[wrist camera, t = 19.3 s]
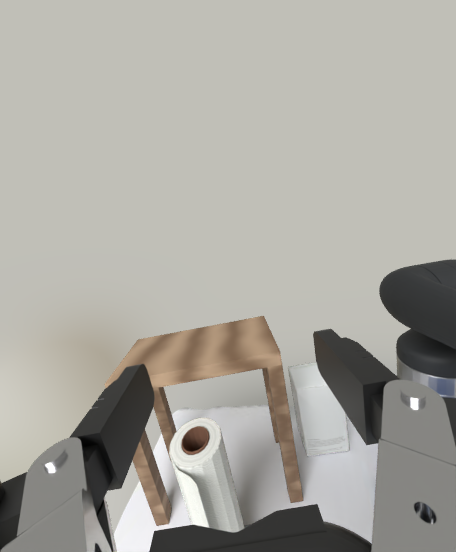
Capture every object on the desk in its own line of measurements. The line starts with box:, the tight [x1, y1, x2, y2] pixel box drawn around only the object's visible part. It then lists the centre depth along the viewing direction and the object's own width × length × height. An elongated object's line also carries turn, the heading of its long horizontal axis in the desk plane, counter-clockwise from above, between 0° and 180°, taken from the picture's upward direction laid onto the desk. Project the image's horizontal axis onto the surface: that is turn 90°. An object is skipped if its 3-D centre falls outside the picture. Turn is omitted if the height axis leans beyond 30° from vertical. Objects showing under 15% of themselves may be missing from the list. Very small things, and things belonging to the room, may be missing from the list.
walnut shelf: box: [105, 316, 303, 526], centre depth 38 cm, size 24×12×27 cm, turn 91°
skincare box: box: [288, 362, 350, 457], centre depth 42 cm, size 8×7×16 cm
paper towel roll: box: [169, 418, 244, 532], centre depth 27 cm, size 7×6×21 cm
